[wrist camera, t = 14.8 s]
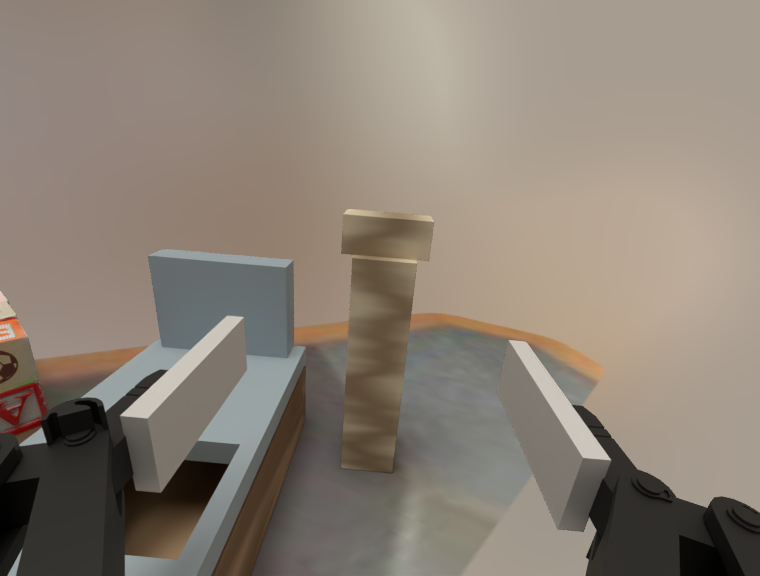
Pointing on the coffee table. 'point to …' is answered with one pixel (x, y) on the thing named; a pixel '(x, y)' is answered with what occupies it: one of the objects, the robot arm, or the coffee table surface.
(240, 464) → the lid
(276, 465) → the wooden box
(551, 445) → the robot arm
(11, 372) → the stack of blocks
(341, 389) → the coffee table surface
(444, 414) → the coffee table surface
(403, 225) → the key
